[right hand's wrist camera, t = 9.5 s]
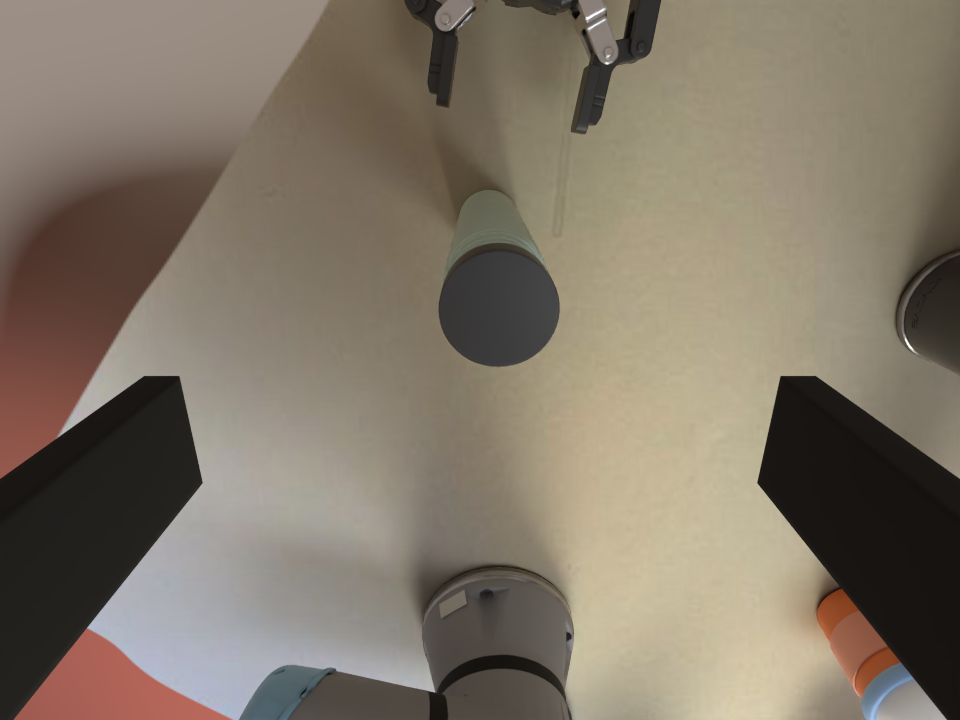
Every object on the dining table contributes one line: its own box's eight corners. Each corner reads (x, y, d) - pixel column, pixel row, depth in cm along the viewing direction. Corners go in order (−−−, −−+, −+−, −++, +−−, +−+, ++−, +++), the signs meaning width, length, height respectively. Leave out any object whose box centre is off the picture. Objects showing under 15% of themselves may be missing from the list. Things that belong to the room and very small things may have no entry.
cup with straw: (832, 563, 55) (988, 751, 38) (911, 587, 56) (1096, 779, 39) (784, 629, 58) (908, 829, 41) (859, 650, 59) (1010, 853, 42)
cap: (543, 357, 23) (547, 373, 21) (436, 344, 23) (432, 359, 21) (563, 250, 21) (570, 259, 20) (448, 234, 21) (445, 242, 19)
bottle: (513, 254, 44) (548, 372, 22) (455, 246, 43) (430, 357, 21) (523, 194, 42) (571, 255, 20) (462, 185, 42) (444, 238, 20)
